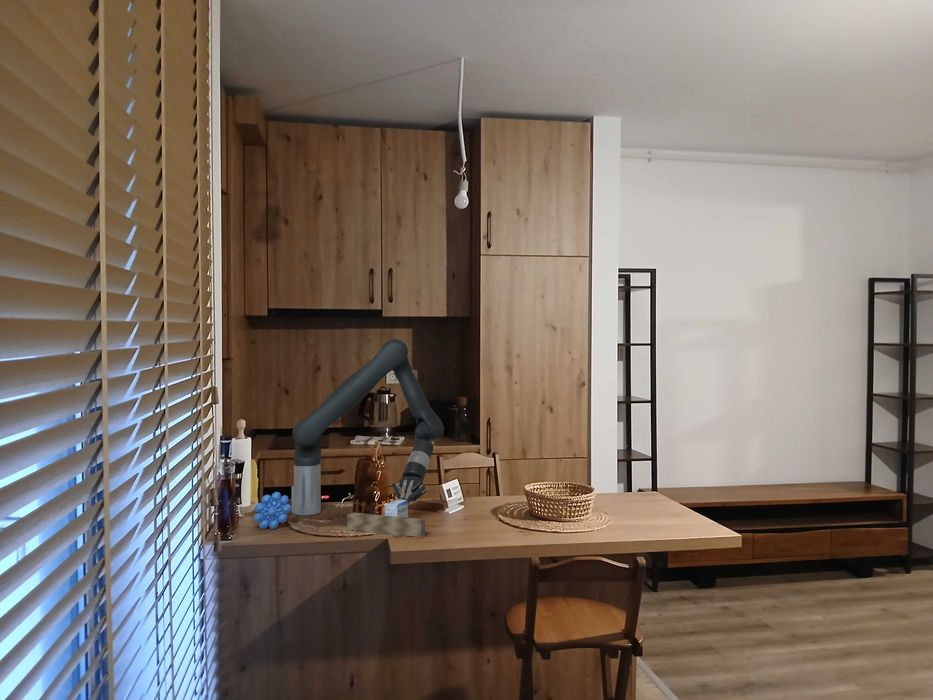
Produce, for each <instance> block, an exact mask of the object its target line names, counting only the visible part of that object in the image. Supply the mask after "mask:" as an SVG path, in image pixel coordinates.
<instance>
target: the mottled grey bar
mask: <svg viewBox="0 0 933 700" xmlns="http://www.w3.org/2000/svg"><path fill="white" fill-rule="evenodd" d="M346 521H347V522H346V530H347V531H350V530H355V531H354V532H360V531H365V532H364V533H369V532H373V534H380V535H390V536H398V535H399V537H407V536H419V537H422V536H423V535H425V536H426V519H425V518H416V517H408V518H406V517H395V516H385V514H373V513H361V512H352V511H351V512H350V513H348V514H347V515H346ZM400 535H402V536H400ZM422 538H423V537H422Z"/></svg>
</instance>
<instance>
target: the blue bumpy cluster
mask: <svg viewBox="0 0 933 700" xmlns="http://www.w3.org/2000/svg"><path fill="white" fill-rule="evenodd" d="M289 500H290V499H289V496H288V495H282V494H281V493H280V491H275V492H273V493H272V494H271V495H270V494H265V495H263V496H262V497H261V502H258V503H257V504H255V506H254V511H255V512H256V513H255V515H254V516H253V521H254V522H255V523H259V527H260V528H261V529H263V530H264V529H266V528H268V527H269V529H270V530H275V529H276V528H278V526H279V524H284V523H285V522H287V520H288V515H287V514H289V513H290V512H291V511H292V505H290V503H288V502H289Z"/></svg>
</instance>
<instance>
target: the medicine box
mask: <svg viewBox="0 0 933 700" xmlns="http://www.w3.org/2000/svg"><path fill="white" fill-rule="evenodd" d="M408 508H409V504H408V501H407V500H400V499H398V498H397V499H395V500H392V501H390V502H388V503H387V504H384V515H385V516H395V517H406V518H409V516H408V515H409V514H408V513H409V511H408V510H409V509H408Z"/></svg>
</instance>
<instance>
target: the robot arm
mask: <svg viewBox="0 0 933 700" xmlns="http://www.w3.org/2000/svg"><path fill="white" fill-rule="evenodd" d="M408 355H409V349H408V346H407V344H406V343H405V342H403V341H402V340H401V339H397V338H393V339H392V338H391V339H388V340H387V341H385V342H384V344H383V346H382V347H381V349H380V350H379V351H378V352H377V354H376V355H375V356H374V357H373V358H372V359H371V360H370V361H369V362H367V363H366V364H365V365H364V366H362V367H360V368H358V369H357V370H356V371H355V372H353V373H352V374H350V375H349V376H348V377H346V379H344V380H343V382H341V383H340V384H339V385H338V386H337V387H336V388H334V390H333V391H332V392H331V393H330V394H329V396H328V397H326V399H325V400H324V401H323V402H322V404H320V406H319V407H318V408H317V409H316V410H314V411H313V412H312V413H310V414H308V416H306V417H305V418H303V419H301V420H299V422H297V423H296V424H295V425H294V427H293V429H292V439H293V441H294V455H293V485H292V486H291V514H294V515H296V516H313V515H317V514H320V513H321V512H322V511H321V510H322V505H321V504H322V503H321V502H322V501H321V499H322V498H321V497H322V496H321V490H322V489H321V485H322V484H321V483H322V482H321V481H322V480H321V473H322V472H321V469H322V468H321V464H322V463H321V456H322V435H323V434H324V433H325V432H326V430H327V429H328V428H330V426H332V424H333V423H334V422H336V421H337V420H338V419H340V418H342V416H344V415H345V414H347V413H348V412H349V411H350V410H352V409H353V408H354V407H355V406H357V405H358V404H359V403H360V402H361V401H362V400H363V399H364V398H365V397H367V395H368V394H369V393H370V392H371V391H372V390H373V389H374V388H375V387H376V386H377V385H378V383H379V382H381V380H382V379H383V378H384V377H385V376H387V375H388V374H389V373H391V371H392V372H393V374H394V375H395V377H396V379H397V381H398V383H399V385H400V388H401V389H400V390H401V391H402V393H403V396H404V399H405V400H406V403H407V406H408V408H409V410H410V411H411V414H412V416H413V417H414V418H415V419H422V420H423V421H421V422H420V423H418V425H417V426H416V428H415V430H414V445H413V448H412V449H411V453H410V455H409V457H408V459H407V462H406V464H405V468H404V470H403V472H402V477H401V478H400V479H399V480H398V481H399V482H397V483H396V482H394V483H392V484H391V487H392V490H393V491H394V493H395V496H396V497H397V500H398V499H400V500H407V501H408V505H409V503H411V502H416V501H417V500H418V499H419V498H421V497H422V496H423V495H425V494H426V493H427V492H428V490H427V488H426V485H424V483H423V482H424V480H425V478H426V475H427V471H428V469H429V466H430V462H431V461H430V460H431V457H432V455H433V451H434V445H433V443H432V442H431V441H430V440H435V439H438V438H441V437H442V436H443V435H444V432H445V426H444V424H443V422H442V420H441V419H440V417H439V415H437V413H436V412H435V411H434V409H433V408H432V407H431V406H430V403H429V401H428V399H427V397H426V394H425V393H424V391H423V389H422V386H421V384H420V383H419V381H418V380H417V378H416V376H415V374H414V371H413V369H412V367H411V365H410V360H409V356H408ZM400 489H401V493H400Z"/></svg>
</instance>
